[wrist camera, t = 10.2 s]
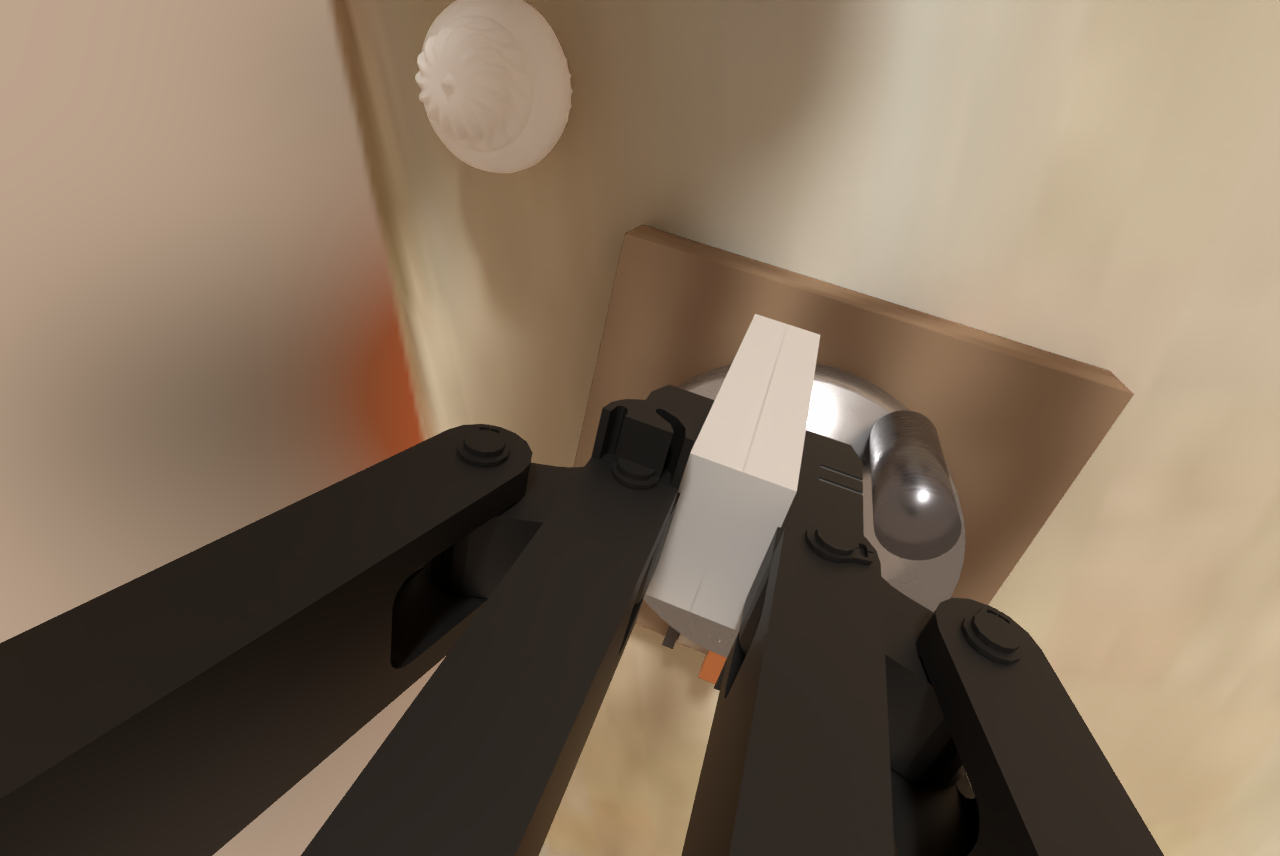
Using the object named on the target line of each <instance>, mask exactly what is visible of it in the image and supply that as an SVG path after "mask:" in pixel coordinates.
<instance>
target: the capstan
mask: <svg viewBox="0 0 1280 856" xmlns="http://www.w3.org/2000/svg"><path fill="white" fill-rule="evenodd" d="M731 365H732V364H730V365H726V366H723V367H719V368H716V369H713V370H710V371H708V372H706V373H703V374H701V375H699V376H696V377H694V378H692V379H691V380H689V381H687V382H686V383H684V384H682V385H681V386H679V387H678V388H681V389H684V390H687V391H690V392H692V393H695V394H698V395H701V396H704V397H707V398H710V399H713V400H715V399H716V397H717V395H718V393H719V390H720V388H721V386H722V384H723V382H724V380H725V378H726V375H727V373H728V371H729V369H730V367H731ZM806 430H809V431H811V432H814V433H817V434H820V435H823V436H826V437H829V438H832V439H835V440H838V441H840V442H843V443H846V444H849V445H851V446H852V447H853V449H854V450H855V452H856V454H857V455H858V457H859V458H860V460H861V461H862V463H863V480H862V482H863V493H862V495H863V522H864V537H866V538H867V540H868V541H869V542H870V543H871V545H872V546H873V547H874V548H875V549H876V551H877V554H878V557H879V560H880V563H881V577H882V578H884V579H885V580H886V581H887V582H888V583H889V584H890V585H891V586H893V587H894V588H896V589H897V590H898V591H900V592H901V593H903V594H904V595H906V596H907V597H909V598H911V599H912V600H914V601H916V602H917V603H919V604H921V605H922V606H924V607H926V608H927V609H929V610H931V611H932V612H934V611H935V610H936V608H937V607H938V605H939V604H940V602H943V601H945V600H948V599H950V598H951V596H952V593H953V591H954V589H955V587H956V585H957V583H958V580H959V577H960V573H961V569H962V566H963V562H964V553H965V542H966V539H965V527H964V518H963V514H962V510H961V506H960V502H959V498H958V494H957V491H956V487H955V483H954V480H953V476H952V473H951V470H950V468H949V466H948V463H947V461H946V459H945V456H944V454H943V452H942V448H941V444H940V441H939V437H938V433H937V430H936V428H935V426H934V424H933V423H932V422H931V421H930V420H929V419H928V418H927V417H926V416H924V415H922V414H920V413H917V412H914V411H910V410H908V409H907V408H906V407H905V406H904V405H903V404H902V403H901V402H899V401H898V400H897V399H896V398H894V397H893V396H891V395H890V394H888V393H887V392H885V391H884V390H882V389H881V388H879V387H878V386H876V385H874V384H872V383H870V382H868V381H866V380H864V379H862V378H860V377H858V376H856V375H854V374H851V373H848V372H845V371H842V370H839V369H837V368H834V367H831V366H826V365H822V364H817V363H816V367H815V374H814V381H813V387H812V394H811V400H810V407H809V414H808V420H807V427H806ZM643 599H644V601H645V602H646V603H647V604H648V605H649V606H650V607H651V608H652V609H653V610H654V611H655V612H656V613H657V614H658V615H659V616H660V617H661V618H662V619H663V620H664V621H665V622H667V623H668V624H669V625H670V626H671V627H673V628H674V629H675V630H677V631H678V632H679V633H681V634H682V635H684V636H685V637H687V638H688V639H690V640H691V641H693V642H695V643H697V644H698V645H700V646H702V647H704V648H706V649H708V652H707V654H706V657H705V659H704V661H703V664H702V666H701V670H700V674H699V678H701V679H704V680H706V681H708V682H711V683H713V684H716V682H717V679H718V677H719V675H720V673H721V670H722V668H723V666H724V664H725V661H726V659H727V657H728V655H729V652H730V650H731V648H732V646H733V644H734V641H735V639H736V637H737V635H738V632H739V629H740V625H741V620H742V617H741V619H740V621H739V623H738V626H737V628H736V630H734V629H732V628H729V627H727V626H724V625H722V624H719V623H717V622H714V621H712V620H709V619H707V618H704V617H701V616H699V615H696V614H694V613H691V612H689V611H686V610H684V609H681V608H679V607H676V606H674V605H671V604H669V603H666V602H664V601H661V600H659V599H656V598H654V597H651V596H649V595H646V594H645V595H644V598H643ZM742 616H743V614H742Z"/></svg>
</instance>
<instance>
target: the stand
mask: <svg viewBox="0 0 1280 856" xmlns="http://www.w3.org/2000/svg"><path fill="white" fill-rule="evenodd" d="M755 314H757V315H761V316H764V317H767V318H770V319H773V320H776V321H779V322H782V323H785V324H788V325H792V326H795V327H798V328H801V329H804V330H807V331H810V332H813V333H816V334H819V335H820V341H819V348H818V354H817V361H816V363H817V364H822V365H826V366H831V367H834V368H837V369H839V370H842V371H845V372H848V373H851V374H854V375H856V376H858V377H860V378H862V379H864V380H866V381H868V382H870V383H872V384H874V385H876V386H878V387H879V388H881V389H882V390H884V391H885V392H887V393H888V394H890V395H891V396H893V397H894V398H896V399H897V400H898V401H899V402H901V403H902V404H903V405H904V406H905V407H906V408H907V409H908V410H910V411H914V412H917V413H920V414H922V415H924V416H926V417H927V418H928V419H929V420H930V421H931V422H932V423H933V424H934V426H935V428H936V430H937V433H938V437H939V441H940V444H941V448H942V452H943V454H944V456H945V459H946V461H947V463H948V466H949V468H950V470H951V473H952V476H953V480H954V483H955V487H956V491H957V494H958V498H959V502H960V506H961V510H962V514H963V518H964V527H965V539H966V542H965V553H964V562H963V566H962V569H961V573H960V577H959V580H958V583H957V585H956V587H955V589H954V591H953V593H952V596H951V598H966V599H972V600H975V601H977V602H980V603H983V604H986V605H988V604H989V603H990V601H991V600H992V598H993V597H994V596H995V594H996V593H997V591H998V590H999V588H1000V587H1001V585H1002V584H1003V583H1004V581H1005V580H1006V578H1007V577H1008V575H1009V574H1010V572H1011V571H1012V570H1013V568H1014V567H1015V565H1016V564H1017V562H1018V561H1019V559H1020V558H1021V557H1022V555H1023V554H1024V552H1025V551H1026V549H1027V548H1028V546H1029V545H1030V544H1031V542H1032V541H1033V539H1034V538H1035V536H1036V535H1037V533H1038V532H1039V530H1040V529H1041V528H1042V526H1043V525H1044V523H1045V522H1046V520H1047V519H1048V517H1049V516H1050V515H1051V513H1052V512H1053V510H1054V509H1055V507H1056V506H1057V504H1058V503H1059V502H1060V500H1061V499H1062V497H1063V496H1064V494H1065V493H1066V491H1067V490H1068V489H1069V487H1070V486H1071V484H1072V483H1073V481H1074V480H1075V478H1076V477H1077V476H1078V474H1079V473H1080V471H1081V470H1082V468H1083V467H1084V465H1085V464H1086V463H1087V461H1088V460H1089V458H1090V457H1091V455H1092V454H1093V452H1094V451H1095V450H1096V448H1097V447H1098V445H1099V444H1100V442H1101V441H1102V439H1103V438H1104V437H1105V435H1106V434H1107V432H1108V431H1109V429H1110V428H1111V426H1112V425H1113V424H1114V422H1115V421H1116V419H1117V418H1118V416H1119V415H1120V413H1121V412H1122V411H1123V409H1124V408H1125V406H1126V405H1127V403H1128V402H1129V400H1130V399H1131V398H1132V396H1133V395H1134V394H1133V393H1132V392H1131V391H1130V390H1129V389H1128V388H1127V387H1126V386H1125V385H1124V384H1123V383H1122V382H1121V381H1120V380H1119V379H1118V378H1117V377H1116V376H1115V375H1114V374H1113V373H1112V372H1111V371H1108V370H1105V369H1102V368H1099V367H1095V366H1092V365H1089V364H1086V363H1083V362H1079V361H1076V360H1073V359H1070V358H1067V357H1063V356H1060V355H1057V354H1054V353H1051V352H1047V351H1044V350H1041V349H1038V348H1035V347H1031V346H1028V345H1025V344H1022V343H1019V342H1015V341H1012V340H1009V339H1006V338H1003V337H999V336H996V335H993V334H990V333H987V332H983V331H980V330H977V329H974V328H971V327H967V326H964V325H961V324H958V323H955V322H951V321H948V320H945V319H942V318H939V317H935V316H932V315H929V314H926V313H923V312H919V311H916V310H913V309H910V308H907V307H903V306H900V305H897V304H894V303H890V302H887V301H884V300H881V299H878V298H874V297H871V296H868V295H865V294H862V293H858V292H855V291H852V290H849V289H846V288H842V287H839V286H836V285H833V284H830V283H826V282H823V281H820V280H817V279H814V278H810V277H807V276H804V275H801V274H798V273H794V272H791V271H788V270H785V269H782V268H778V267H775V266H772V265H769V264H766V263H762V262H759V261H756V260H753V259H750V258H746V257H743V256H740V255H737V254H734V253H730V252H727V251H724V250H721V249H718V248H714V247H711V246H708V245H705V244H702V243H698V242H695V241H692V240H689V239H686V238H682V237H679V236H676V235H673V234H670V233H666V232H663V231H660V230H657V229H654V228H650V227H647V226H644V225H641V226H639V227H637V228H635V229H633V230H631V231H629V232H627V233H625V236H624V241H623V245H622V250H621V254H620V259H619V263H618V268H617V272H616V277H615V281H614V286H613V291H612V295H611V300H610V304H609V309H608V313H607V318H606V322H605V327H604V331H603V336H602V340H601V345H600V350H599V354H598V359H597V363H596V368H595V372H594V377H593V381H592V386H591V390H590V395H589V400H588V404H587V409H586V413H585V418H584V422H583V427H582V431H581V436H580V440H579V445H578V449H577V454H576V459H575V463H574V467H583V466H585V465H586V464H587V462H588V461H589V460H590V458H591V456H592V452H593V447H594V443H595V438H596V434H597V429H598V425H599V421H600V416H601V412H602V408H603V407H605V406H606V405H608V404H609V403H611V402H613V401H618V400H623V399H639V400H646V399H647V397H648V396H649V395H650V393H651V392H652V391H654V390H657V389H659V388H662V387H664V386H667V385H672V386H675V387H679V386H681V385H682V384H684V383H686V382H687V381H689V380H691V379H692V378H694V377H696V376H699V375H701V374H703V373H706V372H708V371H710V370H713V369H716V368H719V367H723V366H726V365H730V364H732V362H733V360H734V358H735V356H736V354H737V352H738V350H739V347H740V345H741V343H742V341H743V339H744V337H745V335H746V332H747V330H748V328H749V326H750V324H751V322H752V320H753V317H754V315H755ZM635 623H636V624H639V625H641V626H643V627H646V628H648V629H651V630H653V631H655V632H658V633H660V634H663V635H665V638H664V641H663V644H662V645H664V646H666V647H669V648H671V649H673V647H674V644H675V642H676V640H677V642H679V643H681V644H683V645H686V646H688V647H691V648H693V649H695V650H698V651H700V652H703V653H705V654H707V652H708V649H706V648H704V647H702V646H700V645H698V644H697V643H695V642H693V641H691V640H690V639H688V638H687V637H685V636H684V635H682V634H681V633H679V632H678V631H677V630H675V629H674V628H673V627H671V626H670V625H669V624H668V623H667V622H665V621H664V620H663V619H662V618H661V617H660V616H659V615H658V614H657V613H656V612H655V611H654V610H653V609H652V608H651V607H650V606H649V605H648V604H647V603H646V602H645V601H644V599H643V602H642V605H641V608H640V611H639V614H638V617H637V620H636V622H635Z"/></svg>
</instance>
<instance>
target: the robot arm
mask: <svg viewBox="0 0 1280 856" xmlns="http://www.w3.org/2000/svg"><path fill="white" fill-rule="evenodd" d="M819 341H820V335H819V334H816V333H813V332H810V331H807V330H804V329H801V328H798V327H795V326H792V325H788V324H785V323H782V322H779V321H776V320H773V319H770V318H767V317H764V316H761V315H757V314H755V315H754V317H753V320H752V322H751V324H750V326H749V328H748V330H747V332H746V335H745V337H744V339H743V341H742V343H741V345H740V347H739V350H738V352H737V354H736V356H735V358H734V360H733V362H732V365H731V367H730V369H729V371H728V373H727V375H726V378H725V380H724V382H723V384H722V386H721V388H720V390H719V393H718V395H717V397H716V399H715V400H713V399H710V398H707V397H704V396H701V395H698V394H695V393H692V392H690V391H687V390H684V389H681V388H678V387H675V386H672V385H667V386H664V387H662V388H659V389H657V390H654V391H652V392H651V393H650V395H649V396H648V397H647V399H646V400H639V399H623V400H618V401H613V402H611V403H609V404H608V405H606V406H605V407H603V408H602V412H601V416H600V421H599V425H598V429H597V434H596V438H595V443H594V447H593V452H592V456H591V458H590V460H589V461H588V462H587V464H586V465H585V466H583V467H572V468H567V467H555V466H548V465H542V464H536V463H531V457H532V451H531V449H530V447H529V445H528V444H527V442H526V441H525V440H523V439H522V438H521V437H519V436H518V435H517V434H516V433H513V432H511V431H508V430H506V429H503V428H501V427H496V426H490V425H485V424H474V425H462V426H459V427H455V428H452V429H449V430H446V431H444V432H442V433H440V434H438V435H436V436H434V437H432V438H430V439H427V440H425V441H423V442H421V443H419V444H417V445H415V446H413V447H411V448H409V449H407V450H405V451H403V452H400V453H398V454H396V455H394V456H392V457H390V458H388V459H386V460H383V461H381V462H379V463H377V464H375V465H373V466H371V467H369V468H367V469H365V470H363V471H360V472H358V473H356V474H354V475H352V476H350V477H348V478H346V479H344V480H342V481H340V482H337V483H335V484H333V485H331V486H329V487H327V488H325V489H323V490H321V491H319V492H316V493H314V494H312V495H310V496H308V497H306V498H304V499H302V500H300V501H298V502H296V503H293V504H291V505H289V506H287V507H285V508H283V509H281V510H279V511H277V512H275V513H273V514H271V515H268V516H266V517H264V518H262V519H260V520H258V521H256V522H254V523H251V524H250V525H247V526H245V527H243V528H241V529H239V530H237V531H235V532H233V533H231V534H228V535H227V536H224V537H222V538H220V539H218V540H216V541H214V542H212V543H210V544H207V545H205V546H203V547H201V548H199V549H197V550H195V551H193V552H191V553H189V554H187V555H184V556H182V557H180V558H178V559H176V560H174V561H172V562H170V563H168V564H166V565H163V566H162V567H159V568H157V569H155V570H153V571H151V572H149V573H147V574H145V575H143V576H141V577H139V578H136V579H134V580H132V581H130V582H128V583H126V584H124V585H122V586H120V587H117V588H115V589H113V590H111V591H109V592H107V593H105V594H103V595H101V596H99V597H96V598H95V599H92V600H90V601H88V602H86V603H84V604H82V605H80V606H78V607H75V608H74V609H72V610H69V611H67V612H65V613H63V614H61V615H59V616H57V617H55V618H52V619H50V620H48V621H46V622H44V623H42V624H40V625H38V626H36V627H34V628H32V629H29V630H27V631H25V632H23V633H21V634H19V635H17V636H15V637H13V638H11V639H8V640H6V641H4V642H2V643H0V856H212V855H213V854H215V853H216V852H217V851H218V850H219V849H220V848H222V847H223V846H224V845H225V844H226V843H227V842H229V841H230V840H231V839H232V838H233V837H234V836H236V835H237V834H238V833H239V832H240V831H241V830H243V828H245V827H246V826H247V825H249V824H250V823H251V822H252V821H253V820H254V819H256V818H257V817H258V816H259V815H260V814H261V813H262V812H264V811H265V810H266V809H267V808H268V807H270V806H271V805H272V804H273V803H274V802H275V801H277V799H279V798H280V797H281V796H282V795H283V794H285V793H286V792H287V791H288V790H289V789H291V788H292V787H293V786H294V785H295V784H296V783H298V782H299V781H300V780H301V779H302V778H303V777H305V776H306V775H307V774H308V773H309V772H311V771H312V770H313V769H314V768H315V767H316V766H318V765H319V764H320V763H321V762H322V761H323V760H324V759H326V758H327V757H328V756H329V755H330V754H331V753H333V752H334V751H335V750H336V749H337V748H339V747H340V746H341V745H342V744H343V743H344V742H345V741H347V740H348V739H349V738H350V737H351V736H352V735H354V734H355V733H356V732H357V731H358V730H359V729H361V728H362V727H363V726H364V725H365V724H367V723H368V722H369V721H370V720H371V719H372V718H374V717H375V716H376V715H377V714H378V713H380V712H381V711H382V710H383V709H384V708H385V707H387V706H388V705H389V704H390V703H391V702H392V701H394V700H395V699H396V698H397V697H398V696H399V695H401V694H402V693H403V692H404V691H405V690H406V689H408V688H409V687H410V686H411V685H412V684H413V683H415V682H416V681H417V680H418V679H419V678H420V677H422V676H423V675H424V674H425V673H426V672H427V671H429V670H430V669H431V668H432V667H433V666H435V665H436V664H437V663H438V662H439V661H440V660H441V659H442V658H444V657H445V656H446V655H447V656H446V657H445V659H444V660H443V661H442V663H441V664H440V665H439V667H438V668H437V670H436V671H435V672H434V674H433V675H432V676H431V678H430V679H429V680H428V682H427V683H426V685H425V686H424V687H423V689H422V690H421V691H420V693H419V694H418V696H417V697H416V698H415V700H414V701H413V702H412V704H411V705H410V707H409V708H408V709H407V711H406V712H405V713H404V715H403V716H402V718H401V719H400V720H399V722H398V723H397V724H396V726H395V727H394V729H393V730H392V731H391V733H390V734H389V735H388V737H387V738H386V739H385V741H384V742H383V744H382V745H381V746H380V748H379V749H378V750H377V752H376V753H375V755H374V756H373V757H372V759H371V760H370V761H369V763H368V764H367V766H366V767H365V768H364V770H363V771H362V772H361V774H360V775H359V777H358V778H357V779H356V781H355V782H354V784H353V785H352V786H351V788H350V789H349V790H348V792H347V793H346V794H345V796H344V797H343V799H342V800H341V801H340V803H339V804H338V805H337V807H336V808H335V809H334V811H333V812H332V814H331V815H330V816H329V818H328V819H327V821H326V822H325V823H324V825H323V826H322V827H321V829H320V830H319V831H318V833H317V834H316V836H315V837H314V838H313V840H312V841H311V842H310V844H309V845H308V846H307V848H306V849H305V851H304V852H303V853H302V855H301V856H538V855H539V853H540V851H541V848H542V846H543V843H544V841H545V839H546V836H547V834H548V831H549V829H550V827H551V824H552V822H553V819H554V817H555V815H556V812H557V810H558V807H559V805H560V803H561V800H562V798H563V795H564V793H565V790H566V788H567V786H568V783H569V781H570V778H571V776H572V774H573V771H574V769H575V766H576V764H577V762H578V759H579V757H580V754H581V752H582V750H583V747H584V745H585V742H586V740H587V738H588V735H589V733H590V730H591V728H592V726H593V723H594V721H595V718H596V716H597V714H598V711H599V709H600V706H601V704H602V702H603V699H604V697H605V694H606V692H607V690H608V687H609V685H610V682H611V680H612V678H613V675H614V673H615V670H616V668H617V666H618V663H619V661H620V658H621V656H622V653H623V651H624V649H625V646H626V644H627V641H628V639H629V637H630V634H631V632H632V629H633V627H634V625H635V622H636V620H637V617H638V614H639V611H640V608H641V605H642V602H643V598H644V595H645V594H646V595H649V596H651V597H654V598H656V599H659V600H661V601H664V602H666V603H669V604H671V605H674V606H676V607H679V608H681V609H684V610H686V611H689V612H691V613H694V614H696V615H699V616H701V617H704V618H707V619H709V620H712V621H714V622H717V623H719V624H722V625H724V626H727V627H729V628H732V629H734V630H736V628H737V626H738V623H739V621H740V619H741V617H742V620H741V625H740V629H739V632H738V635H737V637H736V639H735V641H734V644H733V646H732V648H731V650H730V652H729V655H728V657H727V659H726V661H725V664H724V666H723V668H722V670H721V673H720V675H719V677H718V679H717V682H716V684H715V686H714V688H715V689H717V690H720V693H719V697H718V702H717V706H716V710H715V714H714V719H713V723H712V727H711V732H710V736H709V740H708V744H707V749H706V753H705V757H704V762H703V766H702V770H701V774H700V779H699V783H698V787H697V792H696V796H695V800H694V804H693V809H692V813H691V817H690V822H689V826H688V830H687V834H686V839H685V843H684V847H683V852H682V856H1164V855H1163V853H1162V851H1161V850H1160V848H1159V846H1158V845H1157V843H1156V841H1155V840H1154V838H1153V836H1152V835H1151V833H1150V831H1149V830H1148V828H1147V826H1146V825H1145V823H1144V821H1143V820H1142V818H1141V816H1140V815H1139V813H1138V811H1137V809H1136V808H1135V806H1134V804H1133V803H1132V801H1131V799H1130V798H1129V796H1128V794H1127V793H1126V791H1125V789H1124V788H1123V786H1122V784H1121V783H1120V781H1119V779H1118V778H1117V776H1116V774H1115V773H1114V771H1113V769H1112V767H1111V766H1110V764H1109V762H1108V761H1107V759H1106V757H1105V756H1104V754H1103V752H1102V751H1101V749H1100V747H1099V746H1098V744H1097V742H1096V741H1095V739H1094V737H1093V736H1092V734H1091V732H1090V731H1089V729H1088V727H1087V725H1086V724H1085V722H1084V720H1083V719H1082V717H1081V715H1080V714H1079V712H1078V710H1077V709H1076V707H1075V705H1074V704H1073V702H1072V700H1071V699H1070V697H1069V695H1068V694H1067V692H1066V690H1065V689H1064V687H1063V685H1062V683H1061V682H1060V680H1059V678H1058V677H1057V675H1056V673H1055V672H1054V670H1053V668H1052V667H1051V665H1050V663H1049V662H1048V660H1047V658H1046V657H1045V655H1044V653H1043V652H1042V650H1041V649H1040V647H1039V646H1038V645H1037V644H1036V642H1035V641H1034V640H1033V638H1032V637H1031V636H1030V635H1029V633H1028V632H1026V631H1025V630H1024V629H1023V628H1022V627H1021V626H1019V625H1018V624H1017V623H1016V622H1015V621H1013V620H1012V619H1011V618H1010V617H1009V616H1007V615H1006V614H1004V613H1002V612H1000V611H998V610H997V609H995V608H993V607H991V606H989V605H986V604H983V603H980V602H977V601H975V600H972V599H966V598H950V599H948V600H945V601H943V602H940V604H939V605H938V607H937V608H936V610H935V611H934V612H932V611H931V610H929V609H927V608H926V607H924V606H922V605H921V604H919V603H917V602H916V601H914V600H912V599H911V598H909V597H907V596H906V595H904V594H903V593H901V592H900V591H898V590H897V589H896V588H894V587H893V586H891V585H890V584H889V583H888V582H887V581H886V580H885V579H884V578H882V577H881V563H880V560H879V557H878V554H877V551H876V549H875V548H874V547H873V546H872V545H871V543H870V542H869V541H868V540H867V538H866V537H864V522H863V495H862V493H863V482H862V480H863V463H862V461H861V460H860V458H859V457H858V455H857V454H856V452H855V450H854V449H853V447H852V446H851V445H849V444H846V443H843V442H840V441H838V440H835V439H832V438H829V437H826V436H823V435H820V434H817V433H814V432H811V431H809V430H806V427H807V420H808V414H809V407H810V400H811V394H812V387H813V381H814V374H815V367H816V361H817V354H818V348H819ZM742 614H743V616H742ZM966 774H967V775H966ZM967 776H968V777H967ZM968 779H969V780H968ZM969 782H970V783H969ZM970 784H971V785H970Z"/></svg>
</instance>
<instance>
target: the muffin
mask: <svg viewBox="0 0 1280 856" xmlns="http://www.w3.org/2000/svg"><path fill="white" fill-rule="evenodd" d="M567 61H568V60H567V58H565V55H564V53H563V50H562V48H561V44H560V43H559V41H558V39H557V37H556V35H555V33H554V31H553V30H552V28H551V27H550V25H549V24H548V22H547V21H546V20H545V18H544V17H543V16H542V15H541V14H540V13H539V12H538V11H537V10H536V9H535V8H533V7H532V6H531V5H529V4H528V3H526V2H524V1H522V0H456V1H454V2H453V3H451V4H450V5H449V6H447V7H446V8H445V9H444V10H443V11H442V12H441V13H440V14H439V15H438V16H437V18H436V19H435V20H434V22H433V23H432V25H431V26H430V28H429V30H428V32H427V35H426V37H425V40H424V43H423V48H422V52H421V53H420V54H419V55H418V58H417V64H418V67H419V70H420V71H419V72H418V73H417V74H416V76H415V81H416V83H417V84H418V85H419V87H420V88H421V93H420V95H419V100H420V101H421V102H422V103H423V104H424V108H425V111H426V114H427V117H428V119H429V122H430V124H431V126H432V128H433V129H434V131H435V133H436V134H437V136H438V137H439V139H440V140H441V141H442V143H443V144H444V145H445V146H446V147H447V149H448V150H449V151H450V152H451V153H452V154H454V155H455V156H456V157H457V158H458V159H460V160H461V161H463V162H464V163H466V164H468V165H470V166H472V167H474V168H477V169H480V170H483V171H487V172H493V173H513V172H519V171H522V170H525V169H528V168H530V167H532V166H534V165H535V164H537V163H538V162H540V161H541V160H542V159H544V158H545V157H546V156H547V155H548V154H549V152H550V151H551V150H552V149H553V148H554V146H555V145H556V143H557V142H558V140H559V138H560V137H561V135H562V134H563V131H564V128H565V126H566V123H567V122H568V121H569V120H568V116H569V111H570V109H571V107H572V105H571V94H572V93H573V90H572V89H571V84H570V79H571V74H570V73H569V70H568V66H567Z"/></svg>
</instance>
